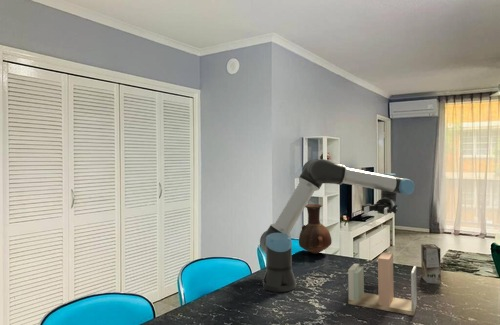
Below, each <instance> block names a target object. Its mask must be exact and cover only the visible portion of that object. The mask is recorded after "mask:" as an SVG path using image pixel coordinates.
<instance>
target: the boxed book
mask: <svg viewBox="0 0 500 325" xmlns="http://www.w3.org/2000/svg"><path fill="white" fill-rule="evenodd" d="M377 279H378V280H377V284H378V286H377V287H378V288H377V289H378V294H377V295H378V299H379V305H383V306H388V307H390V305H391V302H392V300H393V298H395V297H394V293H395V292H394V291H395V290H394V253H391V252H382V253H380V255H379V256H378V258H377Z"/></svg>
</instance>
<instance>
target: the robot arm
mask: <svg viewBox="0 0 500 325" xmlns="http://www.w3.org/2000/svg"><path fill="white" fill-rule="evenodd" d="M298 181H299V183H298V185H297V186H296V188H295V190H294V191H293V192H292V195H291V196H290V198H289V200H288V201H287V203H286V204H285V207H284V208H283V209H282V210H281V213H280V214H279V216H278V217H277V220H276V221H275V223H274V222H273V223H271V224H270V225H269V226H268V228H267V229H266V230H265V231H264V232H263V233H262V234H261V235H260V238H259V245H260V248H261V249H260V250H262V251H263V252H264V254H265V256H266V260H265V261H266V270H265V273H264V277H263V280H262V287H263V288H264V290H266V291H269V292H275V293H284V292H290V291H294V289H296V288H297V281H296V278H295V275H294V271H293V265H292V264H293V262H292V261H293V255H292V254H293V253H292V251H293V248H292V247H293V242H292V237H291V232H292V230H293V228H294V226H295V225H296V223H297V221H298V220H299V218H300V216H301V215H302V213H303V211H304V210H305V208H306V207H305V206H306V205H307V204H308V203H309V201H310V199H311V198H312V196H313V194H314V192H317V191H319V190H320V188H321V187H322V185H323V184H331V185H332V184H334V185H342V184H346V185H352V186H357V187H363V188H367V189H372V190H379V191H380V199H378V200H377V201H376V202H375V203H374V204H372V203H367V204H363V205H361V212H363V215H364V214H365V215H366V214H368V213H370V212H373V211H374V212H378V213H379V214H381V215H383V216H387V215H389V214H392V213H393V214H397V211H398V206H399V205H398V203H399V202H398V199H397V194H399V195H411V194H413V192H414V190H415V188H416V186H415V182H414V181H413V180H412V179H409V178H402V177H397V174H396V173H382V174H381V173H378V172H377V173H376V172H371V171H366V170H361V169H357V168H350V167H347V166H345V164H341V163H337V162H333V161H332V160H331V161H330V160H327V159H323V158H322V159H320V158H319V159H318V158H313V159H310V160H308V161H306V162H305V163H304V164H303V166H302V170H301V173H300V175H299V176H298Z"/></svg>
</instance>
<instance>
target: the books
mask: <svg viewBox="0 0 500 325" xmlns="http://www.w3.org/2000/svg"><path fill="white" fill-rule="evenodd" d="M364 269H365V268H364V266H360V263H355V262H354V263H353V264H352V265H351V266H350V267H349V268H348V269H347V271H348V272H347V275H348V284H347V285H348V289H347V290H348V300H355V301H359V299H360V298H361V297H362V295H363V294H364V293H365V280H364Z"/></svg>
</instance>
